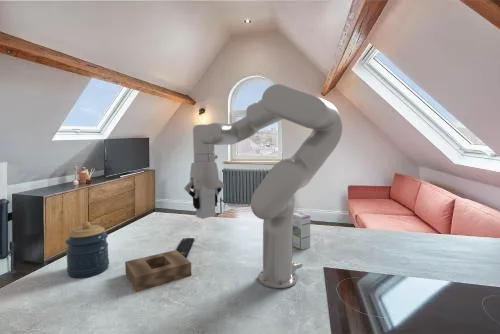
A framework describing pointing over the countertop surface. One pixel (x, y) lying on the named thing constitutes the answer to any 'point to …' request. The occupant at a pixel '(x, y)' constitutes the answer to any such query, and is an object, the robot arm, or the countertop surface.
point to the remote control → (185, 246)
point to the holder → (157, 269)
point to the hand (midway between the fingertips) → (205, 206)
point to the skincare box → (206, 203)
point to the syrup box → (301, 231)
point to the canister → (87, 251)
